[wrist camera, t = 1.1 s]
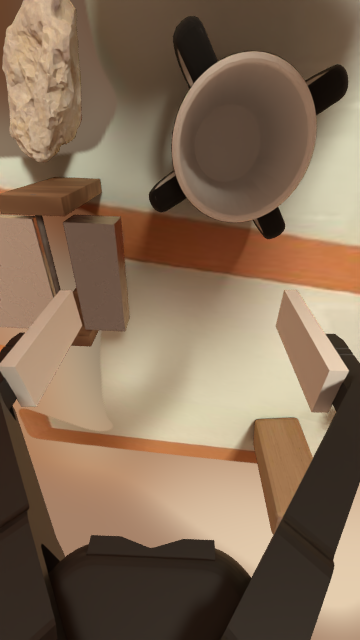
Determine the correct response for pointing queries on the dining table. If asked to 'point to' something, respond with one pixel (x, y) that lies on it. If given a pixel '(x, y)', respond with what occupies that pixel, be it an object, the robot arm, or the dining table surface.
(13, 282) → the trapdoor
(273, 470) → the wooden block
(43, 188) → the frame
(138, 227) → the dining table surface
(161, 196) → the mug
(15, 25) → the stone
